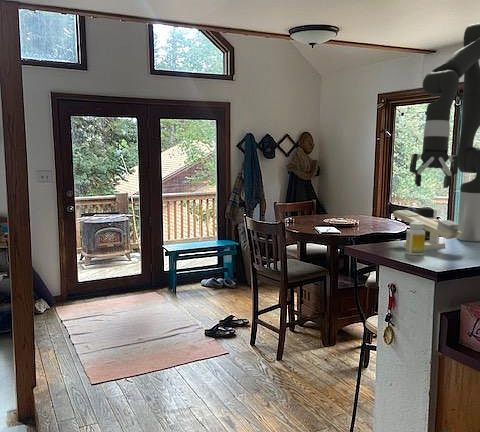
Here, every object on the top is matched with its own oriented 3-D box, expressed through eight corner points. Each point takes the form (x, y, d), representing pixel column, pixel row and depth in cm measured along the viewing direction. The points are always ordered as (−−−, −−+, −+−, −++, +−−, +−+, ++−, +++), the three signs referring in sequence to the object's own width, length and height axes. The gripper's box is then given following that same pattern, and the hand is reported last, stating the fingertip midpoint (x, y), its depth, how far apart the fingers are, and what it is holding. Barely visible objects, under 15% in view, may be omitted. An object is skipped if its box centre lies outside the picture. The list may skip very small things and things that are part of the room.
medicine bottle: (417, 242, 169) (419, 208, 167) (413, 238, 176) (415, 206, 174) (438, 243, 168) (441, 208, 166) (433, 239, 175) (435, 206, 173)
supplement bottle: (401, 253, 150) (403, 222, 148) (411, 251, 153) (413, 221, 152) (417, 256, 146) (419, 225, 144) (427, 254, 149) (429, 223, 148)
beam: (406, 214, 169) (409, 203, 168) (461, 237, 151) (464, 225, 150) (392, 215, 165) (394, 204, 164) (446, 239, 148) (449, 226, 146)
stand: (429, 244, 165) (431, 218, 164) (444, 247, 160) (446, 220, 159) (403, 247, 158) (405, 220, 157) (418, 251, 153) (420, 223, 152)
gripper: (454, 137, 156) (450, 188, 158) (409, 135, 157) (405, 185, 158) (464, 136, 149) (459, 188, 150) (416, 134, 149) (412, 186, 151)
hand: (431, 187), depth 154 cm, fingers open, 8 cm apart
